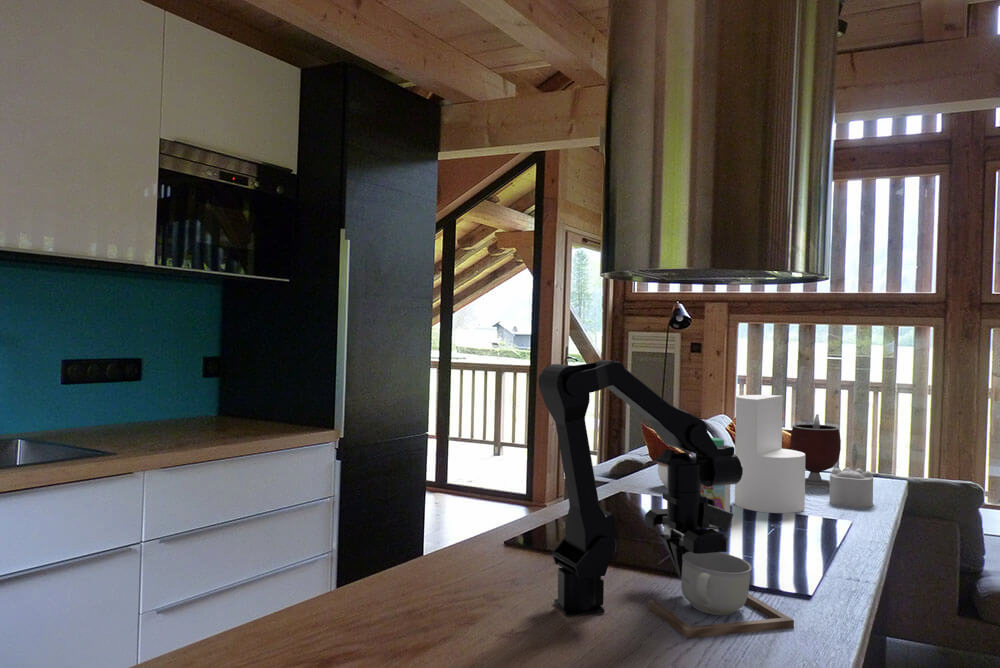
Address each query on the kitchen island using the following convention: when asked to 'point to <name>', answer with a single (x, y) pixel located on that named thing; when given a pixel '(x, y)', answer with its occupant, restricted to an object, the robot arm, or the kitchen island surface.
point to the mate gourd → (817, 449)
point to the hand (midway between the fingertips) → (683, 579)
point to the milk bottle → (718, 489)
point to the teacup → (715, 582)
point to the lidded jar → (662, 473)
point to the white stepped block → (766, 458)
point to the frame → (774, 623)
